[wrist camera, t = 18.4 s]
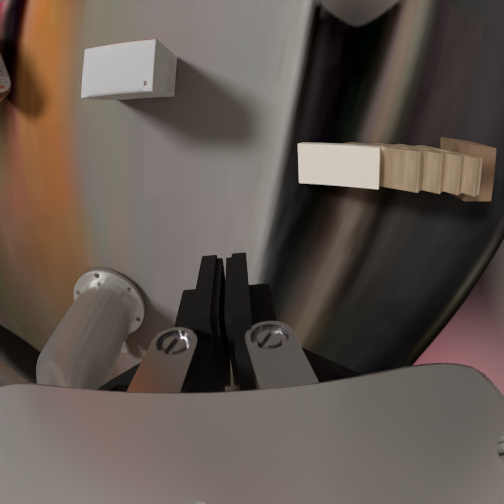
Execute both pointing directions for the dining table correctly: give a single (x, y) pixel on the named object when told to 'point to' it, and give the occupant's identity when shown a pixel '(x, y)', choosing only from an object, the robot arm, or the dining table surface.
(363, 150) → the domino
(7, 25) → the dining table surface
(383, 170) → the domino
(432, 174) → the domino
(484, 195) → the end block
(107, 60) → the small box
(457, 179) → the domino
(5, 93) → the tin
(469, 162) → the domino
